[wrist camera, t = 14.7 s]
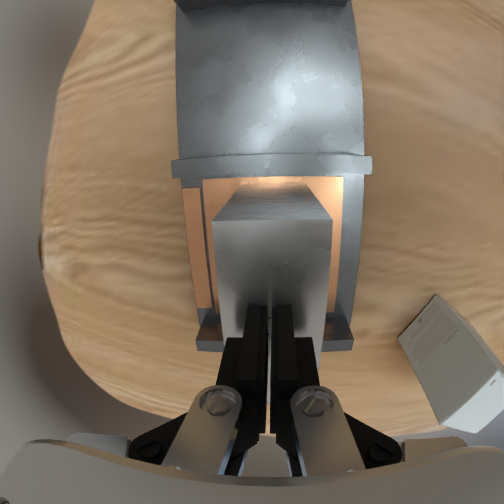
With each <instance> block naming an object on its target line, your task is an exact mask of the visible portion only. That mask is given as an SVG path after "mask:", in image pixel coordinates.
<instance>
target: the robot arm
mask: <svg viewBox="0 0 504 504" xmlns="http://www.w3.org/2000/svg"><path fill="white" fill-rule="evenodd" d="M267 384H268V310H267V308H262V305H248V306H247V312H246V319H245V325H244V331H243V337H227V339H226V343H225V347H224V351H223V356H222V360H221V364H220V368H219V373H218V377H217V381H216V385H215V386H210V387H207V388H205V389H203V390H202V391H200V392H199V393H198V395H197V396H196V397H195V399H194V401H193V403H192V405H191V407H190V409H189V411H188V412H187V413H185V414H183V415H181V416H179V417H177V418H175V419H173V420H171V421H169V422H167V423H165V424H163V425H161V426H159V427H157V428H155V429H153V430H151V431H148V432H146V433H144V434H142V435H140V436H138V437H137V438H135V439H129V437H128V436H113V435H100V434H89V433H75V434H72V435H70V436H69V437H68V438H67V439H66V441H63V440H54V439H39V440H38V439H37V440H31V441H28V442H26V443H24V444H23V445H21V446H20V447H19V448H18V449H17V450H16V451H15V452H14V453H13V455H12V456H11V458H10V459H9V460H8V461H7V463H6V465H5V466H4V468H3V469H2V471H1V473H0V504H504V450H503V449H500V448H497V447H491V446H469V447H468V446H467V443H466V442H465V441H464V440H463V439H461V438H459V437H453V436H452V437H441V438H429V439H405V440H404V441H403V442H396V441H395V440H394V439H392V438H390V437H388V436H387V435H385V434H383V433H381V432H379V431H377V430H375V429H373V428H371V427H370V426H368V425H366V424H364V423H362V422H360V421H359V420H357V419H355V418H353V417H352V416H350V415H348V414H346V413H345V412H343V410H342V407H341V405H340V402H339V400H338V398H337V396H336V394H335V393H334V392H333V391H331V390H330V389H328V388H326V387H323V386H320V383H319V376H318V370H317V364H316V357H315V351H314V345H313V340H312V337H294V326H293V315H292V305H291V304H280V305H277V308H272V328H271V370H270V433H271V434H275V433H276V444H278V445H279V446H280V447H282V448H283V449H284V450H286V458H287V463H288V469H289V473H290V477H244V476H241V474H242V471H243V467H244V464H245V461H246V457H247V454H248V449H249V448H251V447H252V446H254V445H255V444H257V441H259V433H265V428H266V407H267Z"/></svg>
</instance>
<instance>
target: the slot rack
mask: <svg viewBox="0 0 504 504" xmlns="http://www.w3.org/2000/svg"><path fill="white" fill-rule="evenodd" d="M174 1H175V3H176V4H177V6H176V101H177V124H178V142H179V157H180V159H179V160H174V161H171V165H172V177H173V178H181V182H182V193H183V204H184V214H185V223H186V232H187V240H188V248H189V256H190V264H191V271H192V278H193V285H194V292H195V299H196V305H197V311H198V317H199V323H200V330H199V332H198V335H197V338H196V345H197V350H198V351H210V352H223V351H224V340H223V332H222V323H221V315H220V306H219V296H218V287H217V277H216V267H215V256H214V245H213V234H212V220H213V219H214V217H215V216H216V215H217V214H218V213H219V211H220V210H221V209H222V208H223V206H224V205H225V204H226V203H227V201H228V200H229V199H230V198H231V197H232V195H233V194H234V193H235V192H236V191H237V189H238V188H239V187H240V186H241V185H242V184H263V183H306V185H307V186H308V187H309V188H310V190H311V191H312V192H313V194H314V195H315V196H316V198H317V199H318V200H319V202H320V203H321V204H322V206H323V207H324V208H325V210H326V211H327V212H328V214H329V215H330V217H331V218H332V219H333V230H332V248H331V263H330V275H329V287H328V298H327V308H326V317H325V325H324V334H323V342H322V349H321V352H330V351H346V350H352V346H353V341H354V339H353V336H352V333H351V330H350V327H349V326H350V322H351V315H352V309H353V302H354V295H355V288H356V280H357V271H358V262H359V252H360V241H361V229H362V214H363V194H364V174H372V156H365V155H364V114H363V95H362V81H361V70H360V60H359V51H358V43H357V35H356V28H355V22H354V15H353V10H352V4H351V0H174Z"/></svg>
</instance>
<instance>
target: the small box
mask: <svg viewBox="0 0 504 504" xmlns="http://www.w3.org/2000/svg"><path fill="white" fill-rule="evenodd" d="M398 341H399V343H400V345H401V346H402V348H403V350H404V352H405V354H406V356H407V358H408V360H409V362H410V364H411V366H412V368H413V369H414V371H415V373H416V375H417V378H418V380H419V382H420V384H421V386H422V388H423V390H424V392H425V394H426V396H427V398H428V400H429V402H430V405H431V407H432V409H433V411H434V413H435V416H436V418H437V420H438V423H439V425H442V426H446V427H450V428H454V429H458V430H462V431H466V432H470V433H474V434H475V433H477V432H478V431H480V430H481V429H482V428H483V427H484V426H486V425H487V424H488V423H489V422H490V421H491V420H492V419H493V418H495V417H496V416H497V415H498V414H499V413H500V412H501V411H502V410H503V409H504V366H503V364H502V363H501V362H500V360H499V359H498V358H497V357H496V355H495V354H494V353H493V351H492V350H491V349H490V348H489V346H488V345H487V344H486V343H485V341H484V340H483V339H482V338H481V336H480V335H479V334H478V333H477V332H476V330H475V329H474V328H473V327H472V326H471V325H470V324H469V323H468V322H467V321H466V320H465V319H464V318H463V317H461V316H460V315H459V314H458V313H457V312H456V311H455V310H454V309H453V308H452V307H451V306H449V305H448V304H447V303H446V302H445V301H444V300H443V299H442V298H441V297H440V296H439V295H437V294H436V295H435V296H434V298H433V299H432V300H431V301H430V303H429V304H428V305H427V306H426V307H425V308H424V310H423V311H422V312H421V313H420V314H419V315H418V317H417V318H416V319H415V320H414V321H413V322H412V323H411V324H410V325H409V327H408V328H407V329H406V330H405V331H404V332H403V333H402V334H401V335H400V336H399V337H398Z"/></svg>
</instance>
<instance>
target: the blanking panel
mask: <svg viewBox="0 0 504 504" xmlns="http://www.w3.org/2000/svg"><path fill="white" fill-rule="evenodd" d="M332 230H333V219H332V218H331V217H330V215H329V214H328V212H327V211H326V210H325V208H324V207H323V206H322V204H321V203H320V202H319V200H318V199H317V198H316V196H315V195H314V194H313V192H312V191H311V190H310V188H309V187H308V186H307V185H306V183H263V184H242V185H241V186H240V187H239V188H238V189H237V191H236V192H235V193H234V194H233V195H232V197H231V198H230V199H229V200H228V201H227V203H226V204H225V205H224V206H223V208H222V209H221V210H220V211H219V213H218V214H217V215H216V216H215V217H214V219H213V220H212V234H213V245H214V256H215V267H216V277H217V287H218V296H219V306H220V315H221V323H222V332H223V340H224V347H225V343H226V339H227V337H243V331H244V325H245V319H246V312H247V306H248V305H262V308H267V310H268V384H267V403H270V370H271V328H272V308H277V305H280V304H291V305H292V315H293V326H294V337H312V340H313V345H314V351H315V357H316V364H317V370H319V363H320V356H321V349H322V342H323V334H324V325H325V317H326V308H327V298H328V287H329V275H330V263H331V248H332Z"/></svg>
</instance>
